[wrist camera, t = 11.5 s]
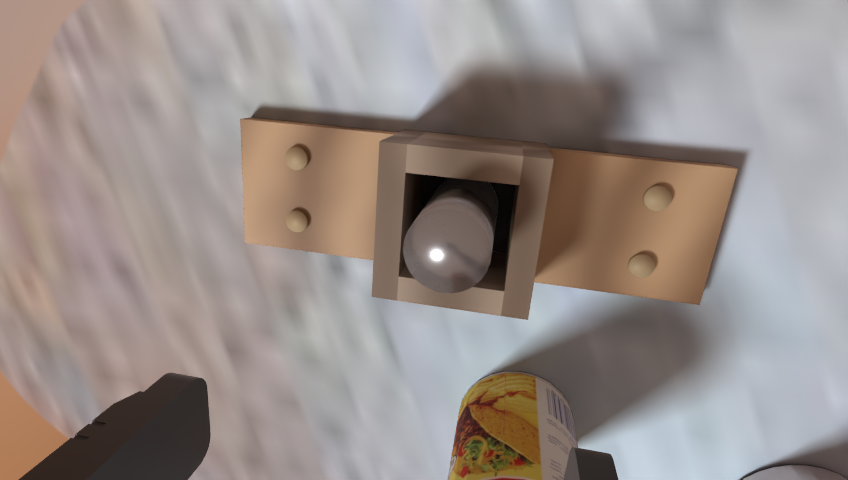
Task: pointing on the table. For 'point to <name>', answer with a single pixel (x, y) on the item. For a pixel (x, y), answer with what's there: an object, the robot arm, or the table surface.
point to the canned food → (512, 430)
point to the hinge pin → (453, 236)
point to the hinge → (530, 220)
